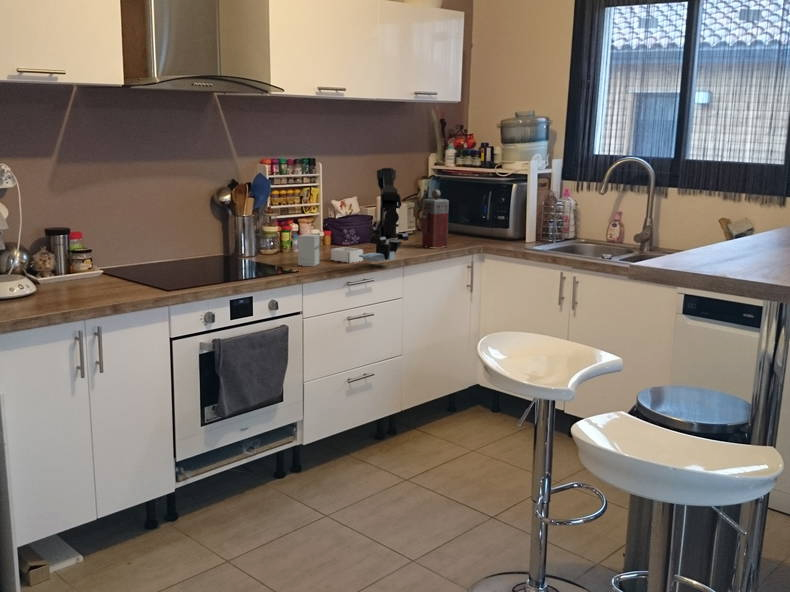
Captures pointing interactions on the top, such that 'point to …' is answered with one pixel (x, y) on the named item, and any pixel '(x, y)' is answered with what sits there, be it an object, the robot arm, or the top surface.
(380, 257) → the light blue tapered piece
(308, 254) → the supplement box
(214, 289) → the top surface
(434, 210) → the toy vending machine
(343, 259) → the tub
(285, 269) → the top surface
